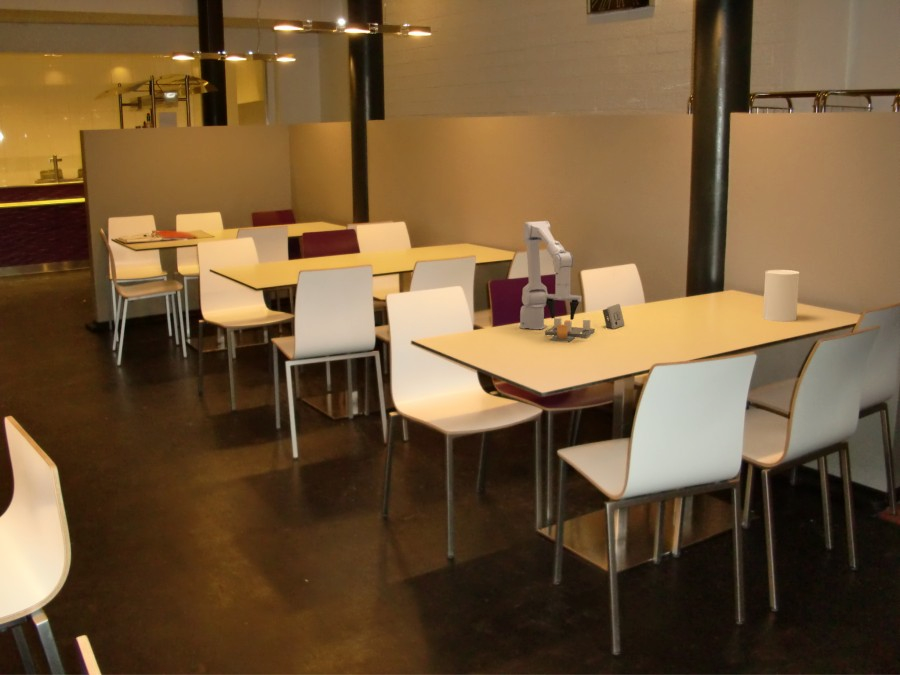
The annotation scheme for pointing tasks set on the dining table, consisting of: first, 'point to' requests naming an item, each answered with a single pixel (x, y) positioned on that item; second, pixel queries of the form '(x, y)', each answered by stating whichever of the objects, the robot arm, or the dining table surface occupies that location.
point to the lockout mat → (562, 339)
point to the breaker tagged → (568, 325)
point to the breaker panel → (572, 332)
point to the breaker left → (557, 321)
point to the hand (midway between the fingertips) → (562, 318)
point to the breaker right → (586, 324)
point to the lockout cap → (562, 332)
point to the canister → (780, 295)
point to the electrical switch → (613, 316)
